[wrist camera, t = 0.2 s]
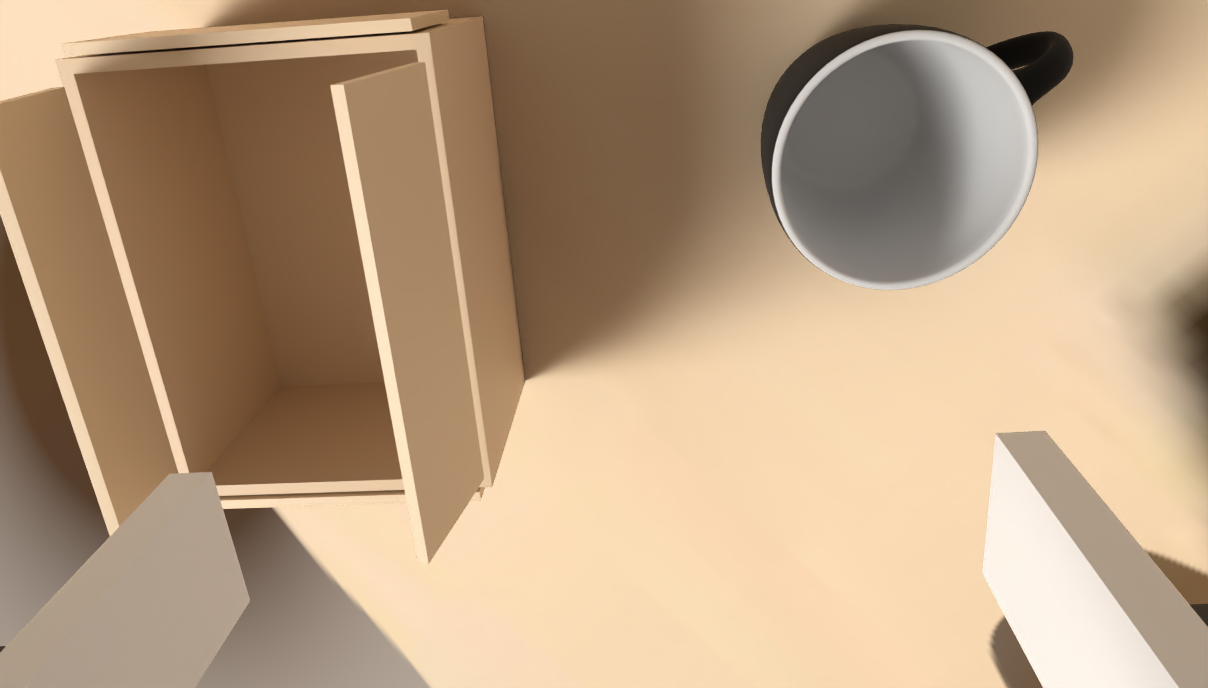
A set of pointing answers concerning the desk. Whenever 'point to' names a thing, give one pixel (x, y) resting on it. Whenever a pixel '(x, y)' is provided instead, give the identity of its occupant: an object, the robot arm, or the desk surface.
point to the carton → (286, 243)
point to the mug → (905, 148)
